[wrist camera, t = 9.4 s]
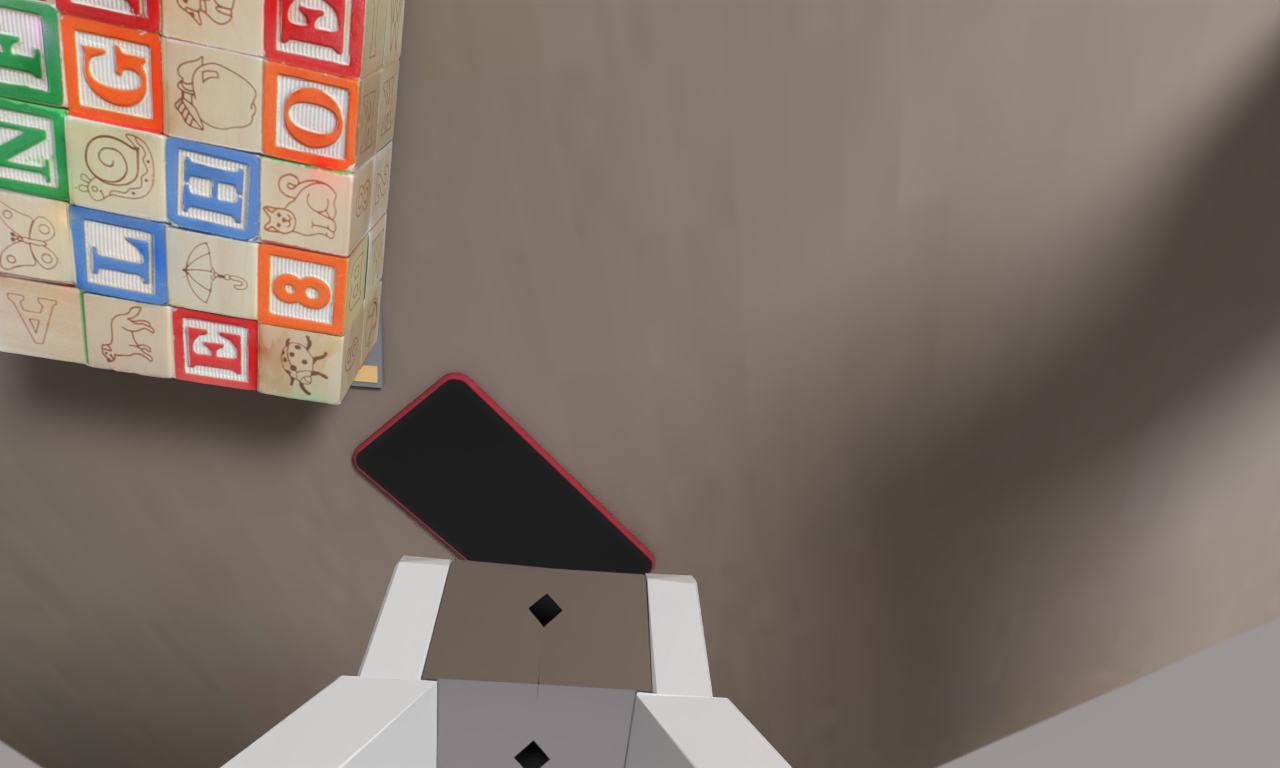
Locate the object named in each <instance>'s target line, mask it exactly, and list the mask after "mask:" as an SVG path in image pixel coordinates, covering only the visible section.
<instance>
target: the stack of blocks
mask: <svg viewBox="0 0 1280 768" xmlns="http://www.w3.org/2000/svg"><path fill="white" fill-rule="evenodd" d="M404 6H405V0H0V351H2V352H8V353H15V354H21V355H28V356H35V357H42V358H48V359H55V360H62V361H68V362H75V363H81V364H85V365H87V366H90V367H94V368H101V369H107V370H115V371H118V372H127V373H135V374H139V375H144V376H151V377H159V378H175V379H179V380H185V381H191V382H197V383H203V384H210V385H216V386H223V387H230V388H237V389H244V390H257V391H259V392H260V393H264V394H269V395H275V396H281V397H287V398H293V399H300V400H306V401H313V402H320V403H327V404H334V405H338V404H340V403H341V401H342V400H343V398H344V396H345V394H346V393H347V391H348V389H349V388H350V386H351V384H352V382H353V380H354V379H355V377H356V375H357V373H358V371H359V369H361V367H362V366H363V364H364V362H365V360H366V359H367V357H368V355H369V353H370V352H371V350H372V348H373V346H374V345H375V343H376V340H377V335H378V324H379V312H380V299H381V285H382V282H381V277H382V273H383V261H384V248H385V234H386V218H387V213H386V210H387V204H388V194H389V182H390V169H391V157H392V138H393V134H394V122H395V110H396V98H397V86H398V75H399V57H400V54H401V43H402V31H403V20H404Z"/></svg>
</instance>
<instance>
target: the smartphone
mask: <svg viewBox="0 0 1280 768" xmlns="http://www.w3.org/2000/svg"><path fill="white" fill-rule="evenodd" d="M353 459H354V463H355V465H356V467H357V468H358V469H359V470H360V471H361V472H362V473H363V474H364V475H366V476H367V477H368V478H369V479H370V480H372V481H373V482H374V483H375V484H376V485H377V486H379V487H380V488H381V489H382V490H383V491H385V492H386V493H387V494H388V495H389V496H390V497H392V498H393V499H394V500H395V501H396V502H398V503H399V504H400V505H401V506H402V507H403V508H405V509H406V510H407V511H408V512H409V513H411V514H412V515H413V516H414V517H415V518H416V519H418V520H419V521H420V522H421V523H422V524H424V525H425V526H426V527H427V528H428V529H429V530H431V531H432V532H433V533H434V534H435V535H437V536H438V537H439V538H440V539H441V540H442V541H444V542H445V543H446V544H447V545H448V546H449V547H451V548H452V549H453V550H454V551H455V552H457V553H458V554H459V555H460V556H461V557H462V558H464V559H465V560H467V561H478V562H488V563H499V564H510V565H521V566H532V567H542V568H550V569H566V570H582V571H597V572H613V573H629V574H643V575H645V573H649V574H650V573H651V572H652V571H653V569H654V566H655V559H654V556H653V554H652V553H651V552H650V551H649V550H648V549H647V548H646V547H645V546H644V545H643V544H642V543H641V542H640V541H639V540H638V539H637V538H636V537H635V536H634V535H633V534H632V533H631V532H630V531H628V530H627V529H626V528H625V527H624V526H623V525H622V524H621V523H620V522H619V521H618V520H617V519H616V518H615V517H614V516H613V515H612V514H611V513H610V512H609V511H608V510H607V509H606V508H605V507H604V506H602V505H601V504H600V503H599V502H598V501H597V500H596V499H595V498H594V497H593V496H592V495H591V494H590V493H589V492H588V491H587V490H586V489H585V488H584V487H583V486H582V485H581V484H580V483H579V482H578V481H577V480H575V479H574V478H573V477H572V476H571V475H570V474H569V473H568V472H567V471H566V470H565V469H564V468H563V467H562V466H561V465H560V464H559V463H558V462H557V461H556V460H555V459H554V458H553V457H552V456H551V455H549V454H548V453H547V452H546V451H545V450H544V449H543V448H542V447H541V446H540V445H539V444H538V443H537V442H536V441H535V440H534V439H533V438H532V437H531V436H530V435H529V434H528V433H527V432H526V431H525V430H524V429H522V428H521V427H520V426H519V425H518V424H517V423H516V422H515V421H514V420H513V419H512V418H511V417H510V416H509V415H508V414H507V413H506V412H505V411H504V410H503V409H502V408H501V407H500V406H499V405H498V404H496V403H495V402H494V401H493V400H492V399H491V398H490V397H489V396H488V395H487V394H486V393H485V392H484V391H483V390H482V389H481V388H480V387H479V386H478V385H477V384H476V383H475V382H474V381H473V380H472V379H470V378H469V377H468V376H466V375H464V374H461V373H451V374H447V375H445V376H444V377H442V378H441V379H440V380H438V381H437V382H436V383H435V384H434V385H432V386H431V387H430V388H429V389H427V390H426V391H425V392H424V393H423V394H421V395H420V396H419V397H418V398H416V399H415V400H414V401H413V402H412V403H410V404H409V405H408V406H407V407H405V408H404V409H403V410H402V411H401V412H399V413H398V414H397V415H396V416H394V417H393V418H392V419H391V420H390V421H388V422H387V423H386V424H385V425H383V426H382V427H381V428H380V429H379V430H377V431H376V432H375V433H374V434H372V435H371V436H370V437H369V438H368V439H366V440H365V441H364V442H363V443H361V444H360V445H359V446H358V447H357V449H356V451H355V453H354V458H353Z"/></svg>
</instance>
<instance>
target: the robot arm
mask: <svg viewBox="0 0 1280 768" xmlns="http://www.w3.org/2000/svg"><path fill="white" fill-rule="evenodd" d="M220 768H792V767H791V766H790V765H789V764H788V763H787V761H786V760H785V759H784V758H783V757H782V756H781V755H780V754H779V753H778V752H777V751H776V750H775V749H774V747H773V746H772V745H771V744H770V743H769V742H768V741H767V740H766V739H765V738H764V737H763V736H762V734H761V733H760V732H759V731H758V730H757V729H756V728H755V727H754V726H753V725H752V724H751V723H750V722H749V720H748V719H747V718H746V717H745V716H744V715H743V714H742V713H741V712H740V711H739V710H738V709H737V708H736V706H735V705H734V704H733V703H732V702H731V701H730V700H729V699H728V698H718V697H713V694H712V687H711V680H710V673H709V666H708V659H707V652H706V645H705V638H704V631H703V624H702V617H701V610H700V603H699V596H698V589H697V582H696V581H695V579H694V578H693V576H691V575H670V574H649V573H645V575H643V574H629V573H613V572H597V571H582V570H566V569H550V568H542V567H532V566H521V565H510V564H499V563H488V562H478V561H467V560H456V559H454V560H453V561H451V560H449V559H437V558H426V557H414V556H403V557H402V558H401V559H400V560H399V562H398V563H397V564H396V566H395V569H394V572H393V575H392V577H391V580H390V583H389V586H388V589H387V592H386V595H385V598H384V600H383V603H382V606H381V609H380V612H379V615H378V618H377V621H376V623H375V626H374V629H373V632H372V635H371V638H370V641H369V644H368V646H367V649H366V652H365V655H364V658H363V661H362V664H361V666H360V669H359V672H358V675H357V676H340V677H339V678H337V679H336V680H335V681H333V682H332V683H331V684H329V685H328V686H327V687H325V688H324V689H323V690H321V691H320V692H319V693H318V694H316V695H315V696H314V697H312V698H311V699H310V700H308V701H307V702H306V703H304V704H303V705H302V706H300V707H299V708H298V709H296V710H295V711H294V712H293V713H291V714H290V715H289V716H287V717H286V718H285V719H283V720H282V721H281V722H279V723H278V724H277V725H275V726H274V727H273V728H272V729H270V730H269V731H268V732H266V733H265V734H264V735H262V736H261V737H260V738H258V739H257V740H256V741H254V742H253V743H252V744H250V745H249V746H248V747H247V748H245V749H244V750H243V751H241V752H240V753H239V754H237V755H236V756H235V757H233V758H232V759H231V760H229V761H228V762H227V763H226V764H224V765H223V766H222V767H220Z"/></svg>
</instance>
